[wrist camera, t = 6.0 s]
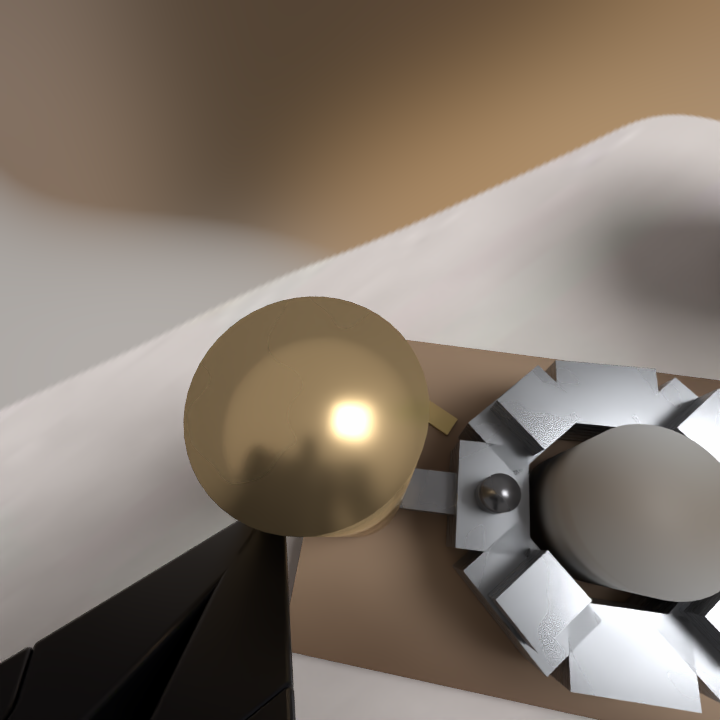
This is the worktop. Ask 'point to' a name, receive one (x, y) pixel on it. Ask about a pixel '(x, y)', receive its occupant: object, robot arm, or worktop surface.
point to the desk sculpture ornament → (445, 480)
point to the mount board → (424, 587)
